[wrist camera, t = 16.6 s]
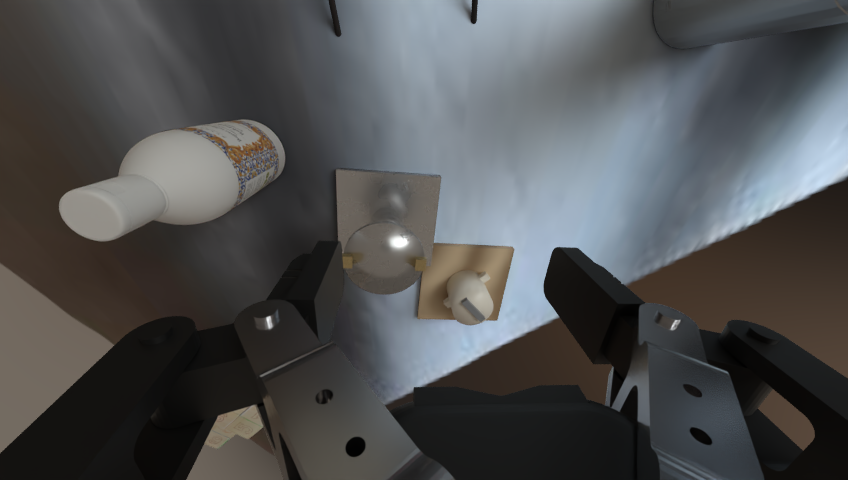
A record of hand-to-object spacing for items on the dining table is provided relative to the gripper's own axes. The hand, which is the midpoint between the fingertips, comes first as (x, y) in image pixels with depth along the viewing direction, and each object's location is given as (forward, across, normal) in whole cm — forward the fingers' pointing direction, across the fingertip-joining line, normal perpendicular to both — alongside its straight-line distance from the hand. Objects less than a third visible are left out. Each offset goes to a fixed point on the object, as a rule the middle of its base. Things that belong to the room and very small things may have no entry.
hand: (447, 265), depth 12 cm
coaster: (+26, -8, +18) cm, 32 cm away
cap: (+25, -8, +18) cm, 32 cm away
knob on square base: (+26, +3, +8) cm, 28 cm away
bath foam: (+26, +18, +1) cm, 32 cm away
